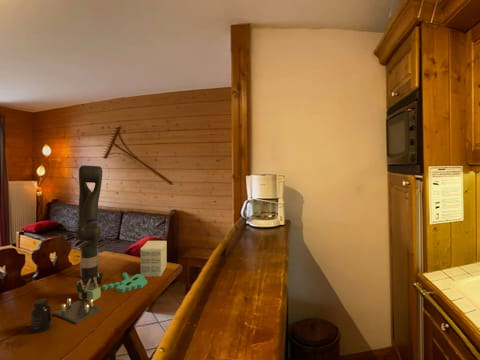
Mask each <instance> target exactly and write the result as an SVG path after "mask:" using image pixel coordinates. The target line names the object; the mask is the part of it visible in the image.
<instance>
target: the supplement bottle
mask: <svg viewBox="0 0 480 360" xmlns="http://www.w3.org/2000/svg"><path fill="white" fill-rule="evenodd" d="M30 325H31V327H30V328H31V331H32V333H35V334H39V333H43V332H45V331H47V330H49V329H50V328H51V326H52V307H51V305H50V304H49V302H48V298H46V297H45V298H43V297H42V298H39V299H36V300H34V301H33V308H32V309H31V311H30Z"/></svg>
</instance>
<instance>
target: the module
mask: <svg viewBox="0 0 480 360" xmlns="http://www.w3.org/2000/svg"><path fill="white" fill-rule="evenodd" d="M101 290H102V287H99V286H98V287H95V286H93V285H91V284H90V285H89V286H88V288H87V290H86V292H87V299H83V298H82V293H80V292H78V299H80V300H84V301H89V299H93V302H94V301H96V300H98V299H99V298H101V296H102V295H101Z"/></svg>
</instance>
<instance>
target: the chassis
mask: <svg viewBox="0 0 480 360" xmlns="http://www.w3.org/2000/svg"><path fill="white" fill-rule="evenodd" d="M101 311H102V307H99V306H96V305H94V301H93V299H89V300H88V303H87V302H84V301H81V300H77V301H75V302H73V303H72V298H71V297H67V299H66V303H65V302H64V303H62V304H61V308H59V309H58V310H55V311H53V315H54V316H56V317H58V318H61V319H63V320H66V321H68V322H71V323H73V324H76V325H77V324H79V323H81V322H83V321H85V320H86V318H87V319H88V318H90V317H92V316H94V315H96V314H97V313H99V312H101Z"/></svg>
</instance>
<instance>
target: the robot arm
mask: <svg viewBox="0 0 480 360" xmlns="http://www.w3.org/2000/svg"><path fill="white" fill-rule="evenodd" d="M102 181H103V168H102V166H99V165H85V164H84V165H80V166H79V169H78V187H79V191H78V192H79V193H78V194H79V195H78V225H77V233H76V237H77V239H78V240H79V241H82V242H84V243H81V245H80V261H79V276H80V277H81V279H80V280H76V281H75V285H76V286H75V287H76V291H77V293H79V292H80V293H82V298H83V299H82V300H84V299H87V292H86V290H87V288H88V286H89V285H90V286H91V285H92V286H95V287H99V285H102V280H103V275H104V273H103V272H99V253H98V252H99V249H98V248H99V247H98V244H99V240H100V238H101V237H100V236H101V233H102V229H101V227H99V226H98V223H97V220H98V214H99V213H98V212H99V201H100V195H101V189H102V183H103V182H102ZM87 183H89V184H94V186H93V187H94V188H93V190H91V189H90V188H89V186H88V184H87Z"/></svg>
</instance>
